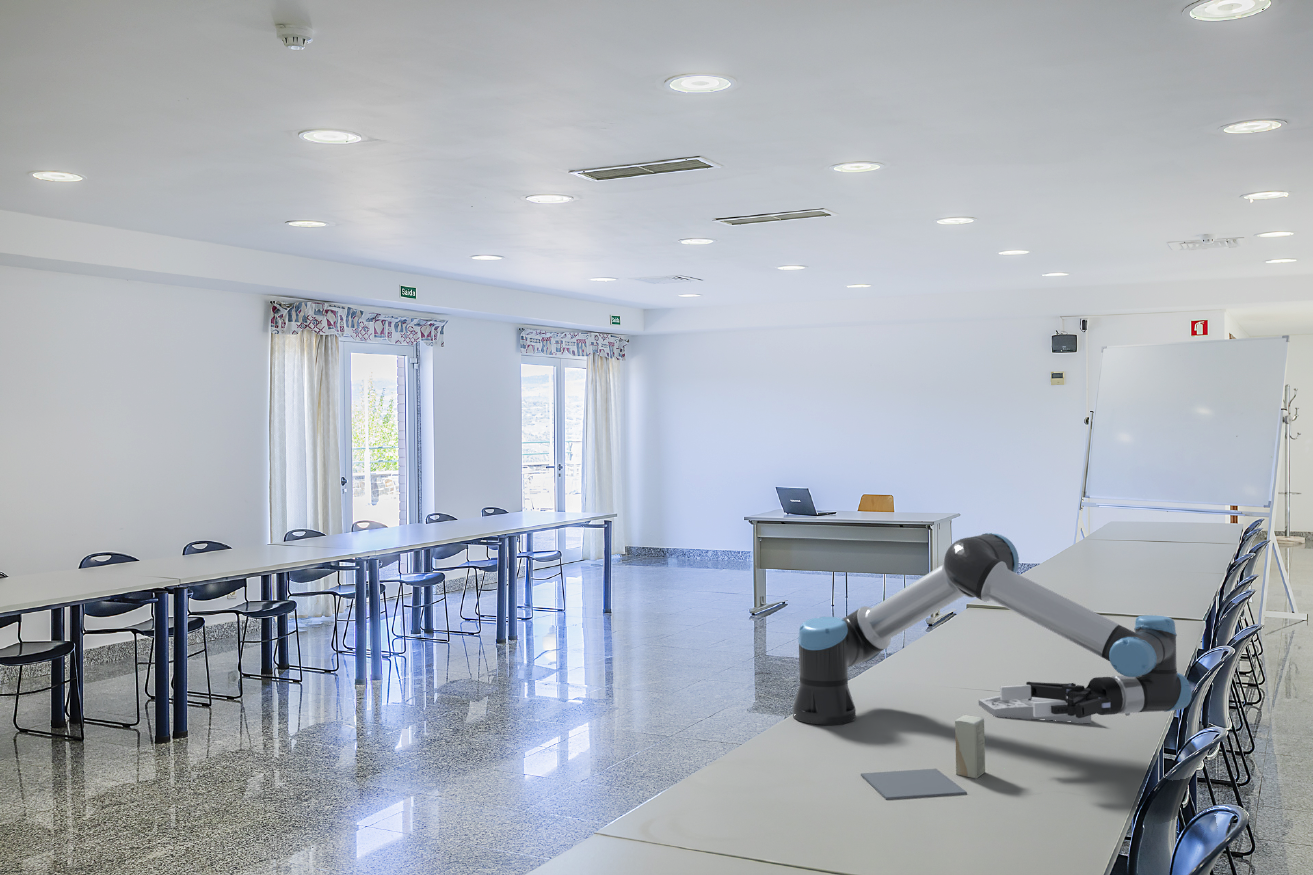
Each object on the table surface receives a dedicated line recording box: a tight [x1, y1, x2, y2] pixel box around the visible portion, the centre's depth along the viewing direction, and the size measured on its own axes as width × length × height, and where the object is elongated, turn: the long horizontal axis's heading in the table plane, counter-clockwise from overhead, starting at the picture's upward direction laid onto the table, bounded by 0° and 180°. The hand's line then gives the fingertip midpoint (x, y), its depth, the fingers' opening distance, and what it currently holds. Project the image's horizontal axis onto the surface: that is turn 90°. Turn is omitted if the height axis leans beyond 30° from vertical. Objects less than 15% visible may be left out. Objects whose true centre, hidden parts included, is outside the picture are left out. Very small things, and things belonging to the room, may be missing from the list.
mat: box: [860, 768, 968, 800], centre depth 200 cm, size 14×16×1 cm
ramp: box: [978, 695, 1092, 724], centre depth 249 cm, size 28×16×5 cm, turn 51°
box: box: [954, 714, 986, 779], centre depth 206 cm, size 5×4×11 cm
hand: (1016, 701), depth 207 cm, fingers open, 13 cm apart
